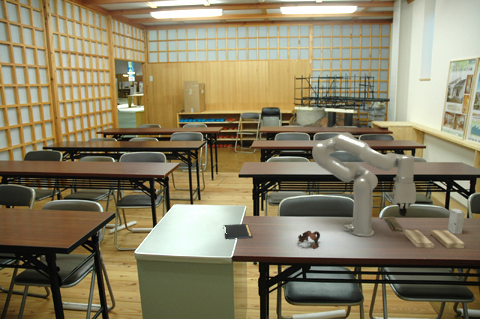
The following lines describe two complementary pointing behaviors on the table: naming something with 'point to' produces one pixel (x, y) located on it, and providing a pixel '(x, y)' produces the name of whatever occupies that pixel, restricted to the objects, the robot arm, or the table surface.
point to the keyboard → (393, 224)
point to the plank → (419, 239)
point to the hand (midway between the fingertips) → (402, 215)
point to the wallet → (238, 231)
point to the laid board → (447, 239)
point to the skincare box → (456, 221)
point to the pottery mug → (311, 235)
